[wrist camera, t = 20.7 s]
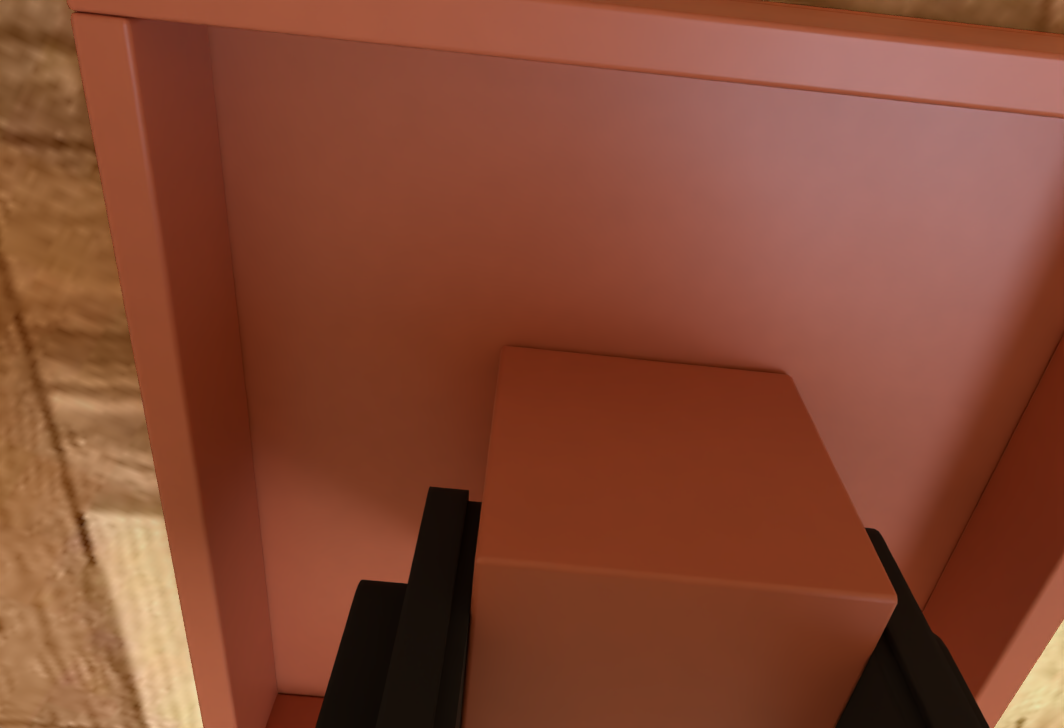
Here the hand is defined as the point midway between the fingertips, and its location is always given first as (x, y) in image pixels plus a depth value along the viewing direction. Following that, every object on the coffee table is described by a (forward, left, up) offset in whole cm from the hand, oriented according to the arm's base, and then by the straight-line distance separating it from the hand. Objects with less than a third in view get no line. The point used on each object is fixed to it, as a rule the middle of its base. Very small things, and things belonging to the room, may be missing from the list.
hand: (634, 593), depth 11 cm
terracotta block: (0, 0, -2) cm, 2 cm away
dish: (0, 0, -3) cm, 3 cm away
